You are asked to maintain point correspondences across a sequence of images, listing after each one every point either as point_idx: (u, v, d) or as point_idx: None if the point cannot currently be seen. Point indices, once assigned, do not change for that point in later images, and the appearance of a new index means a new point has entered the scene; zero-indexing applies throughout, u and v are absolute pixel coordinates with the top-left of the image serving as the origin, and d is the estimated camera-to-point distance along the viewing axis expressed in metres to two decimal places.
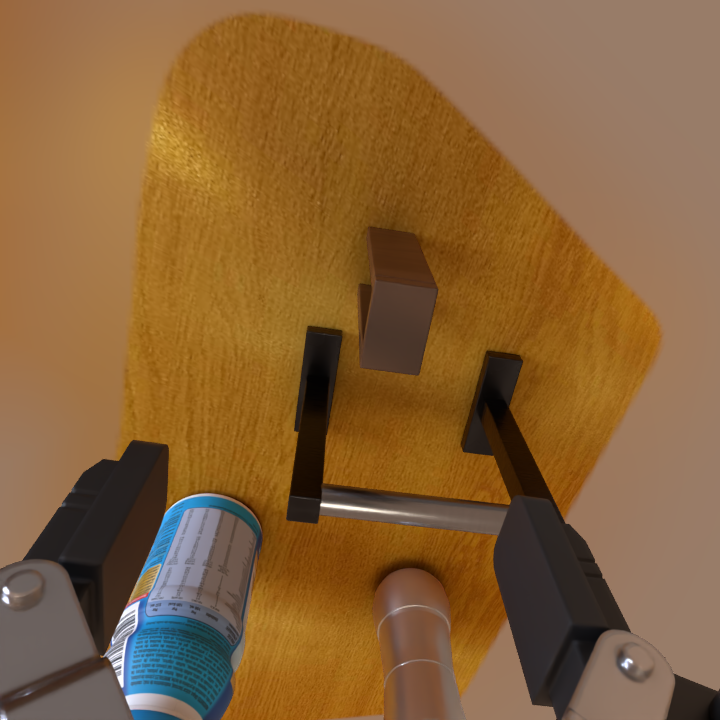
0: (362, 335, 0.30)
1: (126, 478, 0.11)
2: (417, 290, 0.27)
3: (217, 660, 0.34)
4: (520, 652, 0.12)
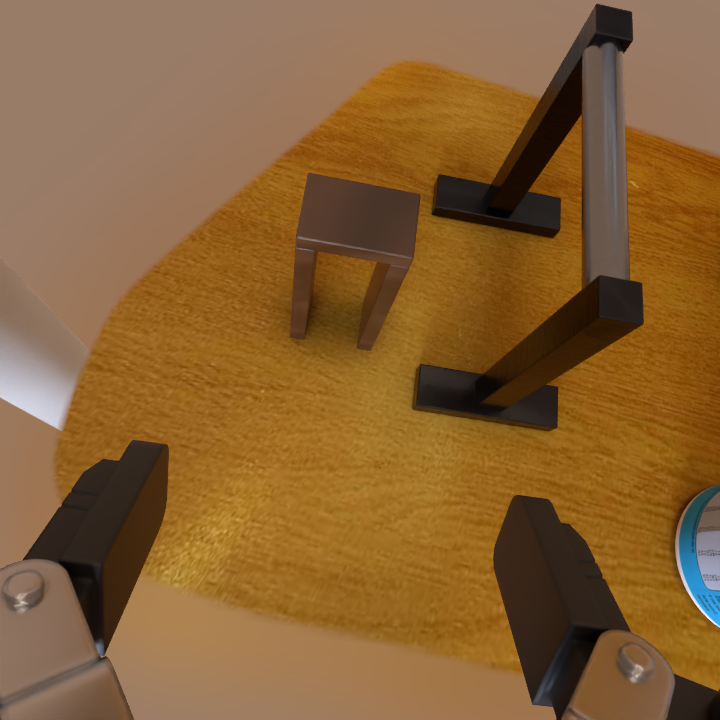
0: (383, 280, 0.24)
1: (126, 478, 0.11)
2: (309, 193, 0.23)
3: None
4: (520, 652, 0.12)
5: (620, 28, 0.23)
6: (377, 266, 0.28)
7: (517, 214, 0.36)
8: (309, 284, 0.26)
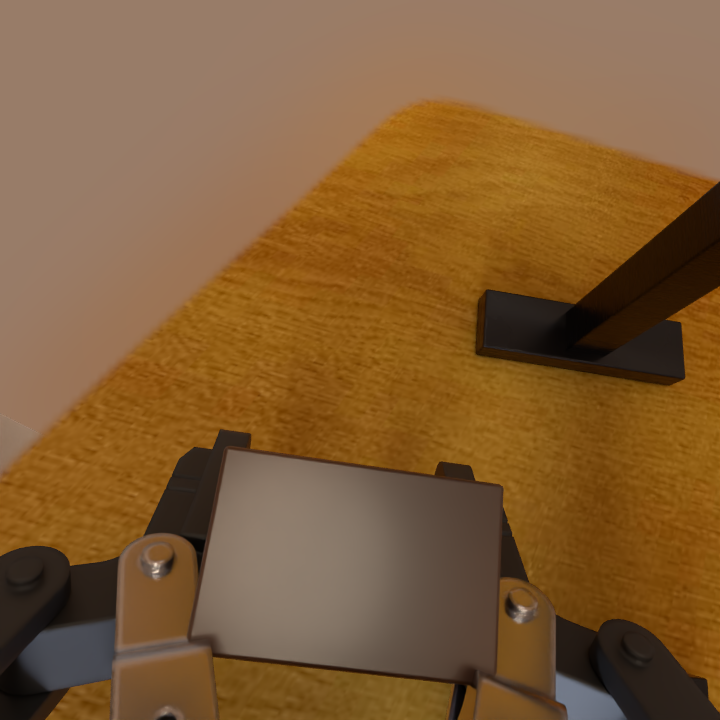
0: None
1: None
2: (225, 509, 0.09)
3: None
4: None
5: None
6: None
7: (615, 354, 0.22)
8: None
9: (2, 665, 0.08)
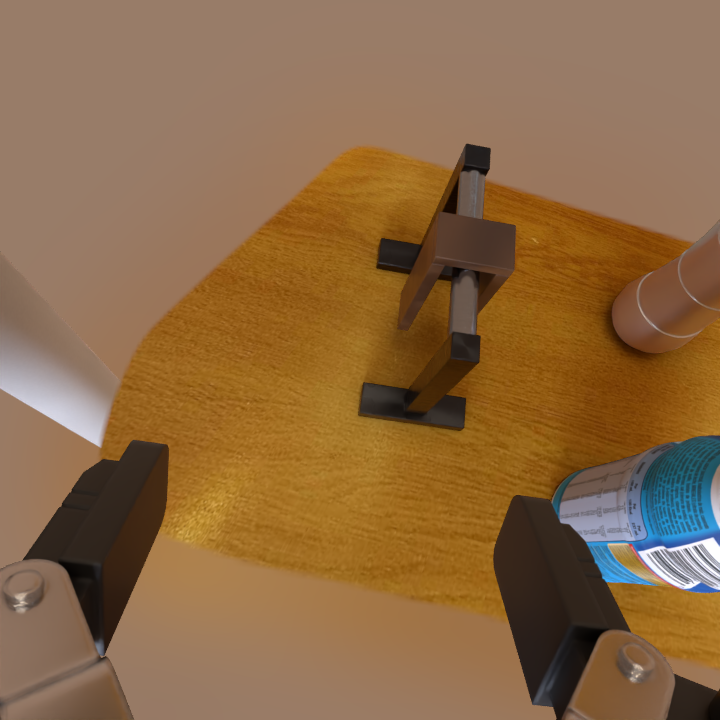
0: (487, 285, 0.34)
1: (126, 478, 0.11)
2: (441, 226, 0.33)
3: (677, 448, 0.31)
4: (520, 652, 0.12)
5: (481, 161, 0.35)
6: None
7: None
8: (430, 288, 0.36)
9: None
